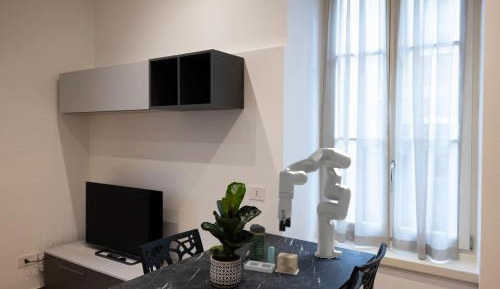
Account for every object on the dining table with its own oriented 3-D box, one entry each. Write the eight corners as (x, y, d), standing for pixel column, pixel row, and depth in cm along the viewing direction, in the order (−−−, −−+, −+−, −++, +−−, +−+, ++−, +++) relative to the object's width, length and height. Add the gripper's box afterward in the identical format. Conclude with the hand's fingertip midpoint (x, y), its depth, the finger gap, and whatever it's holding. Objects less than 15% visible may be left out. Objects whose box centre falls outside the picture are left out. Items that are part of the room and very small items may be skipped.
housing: (297, 269, 178) (297, 254, 178) (294, 273, 172) (295, 258, 172) (280, 266, 181) (280, 252, 181) (277, 271, 174) (277, 256, 174)
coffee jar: (266, 260, 193) (267, 226, 193) (253, 261, 190) (254, 227, 190) (259, 254, 202) (260, 222, 202) (247, 255, 199) (248, 223, 199)
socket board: (275, 268, 179) (275, 264, 179) (271, 274, 172) (271, 269, 172) (249, 265, 184) (249, 260, 184) (244, 270, 176) (244, 265, 176)
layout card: (299, 270, 178) (299, 261, 178) (296, 275, 171) (296, 266, 171) (278, 267, 182) (278, 258, 182) (274, 272, 174) (275, 263, 174)
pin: (274, 263, 187) (275, 246, 187) (273, 265, 184) (273, 248, 184) (268, 262, 188) (269, 246, 188) (266, 264, 185) (267, 247, 185)
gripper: (283, 192, 186) (282, 224, 186) (273, 196, 170) (272, 231, 170) (297, 194, 184) (296, 226, 184) (288, 198, 168) (287, 233, 168)
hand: (284, 229), depth 177 cm, fingers open, 9 cm apart
